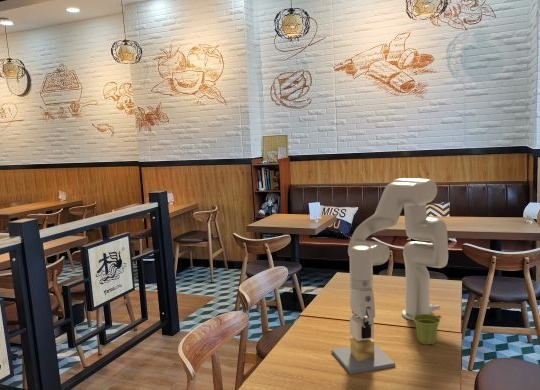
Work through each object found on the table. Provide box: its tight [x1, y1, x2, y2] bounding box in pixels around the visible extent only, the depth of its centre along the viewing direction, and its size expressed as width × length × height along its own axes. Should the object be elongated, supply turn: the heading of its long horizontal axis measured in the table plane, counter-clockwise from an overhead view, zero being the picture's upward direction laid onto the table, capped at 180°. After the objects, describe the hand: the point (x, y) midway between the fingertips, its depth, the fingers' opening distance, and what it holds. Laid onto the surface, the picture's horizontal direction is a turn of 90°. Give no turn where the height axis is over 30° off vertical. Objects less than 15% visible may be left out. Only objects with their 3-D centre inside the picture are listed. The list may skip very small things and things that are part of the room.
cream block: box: [349, 316, 375, 341], centre depth 157 cm, size 6×6×6 cm
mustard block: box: [349, 336, 375, 361], centre depth 158 cm, size 6×6×6 cm
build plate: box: [331, 343, 396, 375], centre depth 159 cm, size 16×16×1 cm
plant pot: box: [412, 314, 441, 345], centre depth 170 cm, size 9×9×9 cm
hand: (361, 333), depth 158 cm, fingers closed on cream block, 6 cm apart
